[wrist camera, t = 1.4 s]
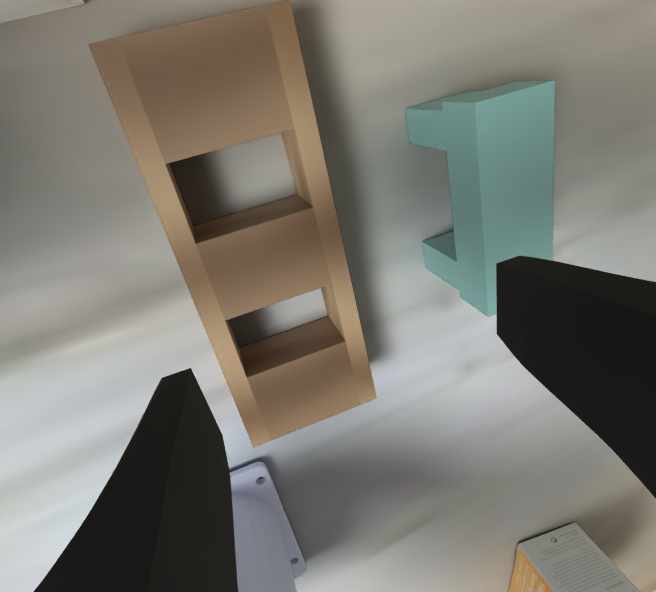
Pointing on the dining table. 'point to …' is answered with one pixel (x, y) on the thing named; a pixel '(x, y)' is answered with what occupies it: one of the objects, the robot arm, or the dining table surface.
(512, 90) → the teal block
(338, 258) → the rail
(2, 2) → the milk
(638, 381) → the robot arm
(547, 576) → the small box
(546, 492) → the dining table surface
